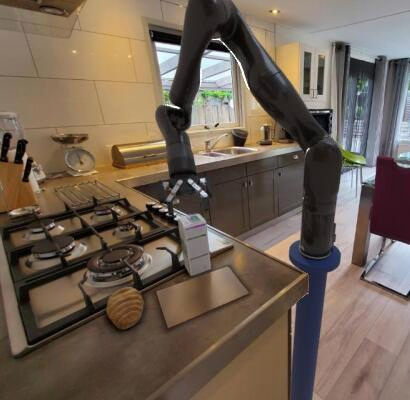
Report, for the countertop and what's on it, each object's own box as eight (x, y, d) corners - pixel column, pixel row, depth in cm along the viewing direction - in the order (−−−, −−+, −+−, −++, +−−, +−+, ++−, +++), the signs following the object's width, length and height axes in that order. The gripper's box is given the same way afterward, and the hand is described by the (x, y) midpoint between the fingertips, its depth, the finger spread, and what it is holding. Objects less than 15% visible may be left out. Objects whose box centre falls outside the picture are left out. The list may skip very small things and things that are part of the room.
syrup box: (211, 269, 66) (207, 220, 61) (189, 277, 63) (183, 226, 58) (204, 258, 71) (199, 211, 65) (183, 265, 68) (176, 217, 62)
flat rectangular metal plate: (227, 266, 67) (227, 266, 67) (249, 293, 58) (249, 293, 58) (156, 292, 58) (156, 291, 58) (167, 328, 49) (167, 328, 49)
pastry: (150, 321, 50) (147, 306, 49) (111, 338, 47) (107, 323, 45) (140, 294, 57) (137, 280, 56) (106, 307, 54) (101, 293, 52)
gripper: (153, 157, 67) (159, 212, 61) (207, 153, 72) (217, 204, 67) (156, 171, 73) (162, 223, 68) (205, 167, 79) (215, 215, 73)
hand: (189, 214), depth 67 cm, fingers open, 8 cm apart
